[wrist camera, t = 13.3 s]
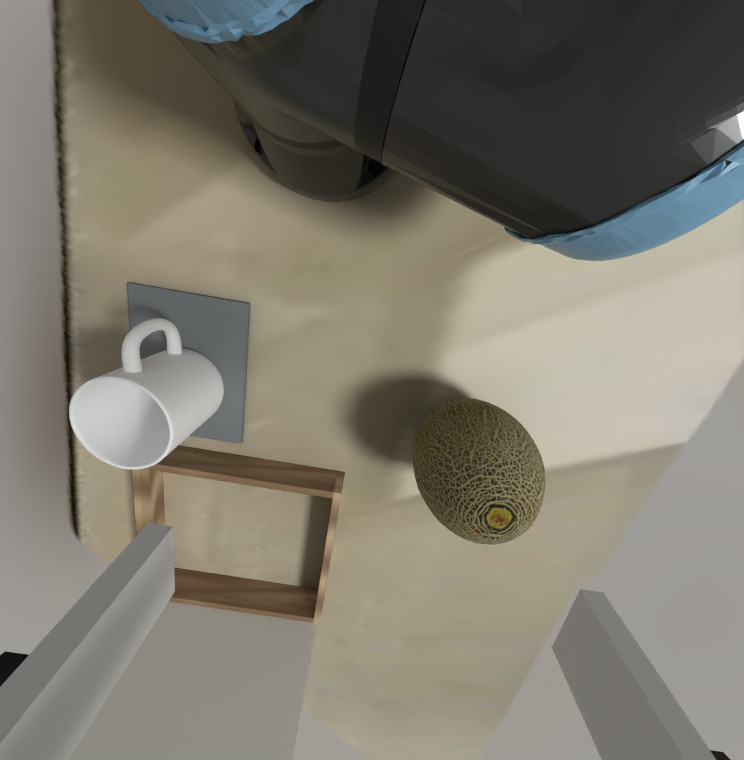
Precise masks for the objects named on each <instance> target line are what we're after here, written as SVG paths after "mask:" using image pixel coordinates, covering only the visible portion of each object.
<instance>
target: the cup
mask: <svg viewBox="0 0 744 760" xmlns="http://www.w3.org/2000/svg"><path fill="white" fill-rule="evenodd" d="M158 330H163V331H164V333H165V335H166V339H167V350H165V351H162V352H159V353H157V354H154V355H152V356H149V357H147V358H144V359H142V360H141V358H140V344H141V342H142V340H143V339H144V338H145V337H146V336H148V335H149V334H151V333H152V332H155V331H158ZM121 356H122V365H123V367H121V368H119V369H116V370H114V371H111V372H109V373H106V374H104V375H101V376H98V377H96V378H93V379H91V380H89V381H87V382H85V383H84V384H82V385H81V386H80V387H79V388H78V389H77V390H76V392H75V393H74V395H73V397H72V399H71V402H70V407H69V417H70V422H71V426H72V428H73V431H74V433H75V435H76V437H77V438H78V440H79V441H80V442H81V444H82V445H83V446H84V447H85V448H86V449H87V450H88V451H89V452H90V453H91V454H92V455H94V456H95V457H97V458H98V459H100V460H101V461H103V462H105V463H107V464H109V465H112V466H115V467H118V468H123V469H143V468H148V467H151V466H153V465H155V464H157V463H158V462H160V461H161V460H162V459H163V458H165V457H166V456H167V455H168V454H169V453H170V452H171V451H172V450H174V449H175V448H176V447H177V446H178V445H179V444H180V443H181V442H183V441H184V440H185V439H186V438H187V437H188V436H189V435H190V434H192V433H193V432H194V431H195V430H196V429H197V428H198V427H199V426H201V425H202V424H203V423H204V422H205V421H206V420H207V419H208V418H210V417H211V416H212V415H213V414H214V413H215V412H216V411H217V409H218V408H219V406H220V404H221V402H222V400H223V395H224V385H223V380H222V377H221V375H220V373H219V371H218V369H217V368H216V367H215V365H214V364H213V363H212V362H211V361H210V360H209V359H207V358H206V357H205V356H203V355H201V354H200V353H198V352H195V351H192V350H188V349H182V344H181V338H180V334H179V331H178V329H177V327H176V326H175V325H174V324H173V323H172V322H171V321H169V320H166V319H163V318H156V319H150V320H147V321H144V322H142V323H140V324H139V325H137V326H135V327H134V328H133V329H131V330H130V331H129V332H128V334H127V335H126V336H125V338H124V341H123V344H122V351H121Z"/></svg>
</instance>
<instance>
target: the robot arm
mask: <svg viewBox="0 0 744 760" xmlns="http://www.w3.org/2000/svg"><path fill="white" fill-rule="evenodd" d="M139 1H140V2H141V3H142V5H143V6H144V8H145V9H146V10H147V11H148V12H149V13H150V14H151V15H153V16H154V17H156V18H157V19H159V20H160V21H161V22H162V23H163V24H164V25H165V26H166V27H167V28H168V29H169V30H170V31H171V32H172V33H173V34H174V35H175V36H176V37H177V38H178V39H179V40H180V42H181V43H182V44H183V45H184V46H185V47H186V48H187V49H188V50H189V51H190V52H191V54H192V55H193V56H194V57H195V58H196V59H197V60H198V61H199V62H200V63H201V64H202V66H203V67H204V68H205V69H206V70H207V71H208V72H209V73H210V74H211V75H212V76H213V78H214V79H215V80H216V81H217V82H218V83H219V84H220V85H221V86H222V87H223V88H224V90H225V91H226V92H227V93H228V94H229V95H230V96H231V97H232V98H233V99H234V102H235V107H236V111H237V115H238V118H239V121H240V124H241V126H242V129H243V131H244V134H245V136H246V138H247V140H248V142H249V144H250V145H251V147H252V149H253V150H254V152H255V154H256V155H257V156H258V158H259V159H260V160H261V162H262V163H263V164H264V165H265V166H266V167H267V169H268V170H269V171H270V172H271V173H272V174H274V175H275V176H276V177H277V178H278V179H279V180H281V181H282V182H283V183H284V184H285V185H287V186H288V187H290V188H291V189H293V190H294V191H296V192H298V193H300V194H302V195H304V196H307V197H310V198H313V199H317V200H322V201H332V202H333V201H346V200H351V199H354V198H358V197H360V196H363V195H365V194H367V193H369V192H371V191H373V190H374V189H376V188H377V187H379V186H380V185H381V184H383V183H384V182H385V181H386V180H387V179H388V178H389V177H390V176H391V175H392V174H393V173H394V172H395V171H397V172H399V173H401V174H403V175H405V176H407V177H408V178H410V179H412V180H414V181H416V182H418V183H420V184H422V185H424V186H426V187H428V188H430V189H432V190H434V191H436V192H438V193H440V194H442V195H444V196H446V197H448V198H450V199H452V200H454V201H456V202H457V203H459V204H461V205H463V206H465V207H467V208H469V209H471V210H473V211H475V212H477V213H479V214H481V215H483V216H485V217H487V218H489V219H491V220H493V221H495V222H497V223H499V224H501V225H503V226H504V227H505V230H506V231H507V232H508V233H509V234H510V235H512V236H513V237H515V238H516V239H518V240H521V241H524V242H530V243H533V244H540V245H542V246H545V247H547V248H549V249H551V250H553V251H556V252H558V253H560V254H562V255H565V256H567V257H570V258H574V259H580V260H589V261H605V260H613V259H618V258H623V257H627V256H631V255H635V254H638V253H641V252H644V251H647V250H650V249H652V248H655V247H657V246H660V245H662V244H665V243H667V242H669V241H671V240H673V239H675V238H677V237H679V236H681V235H683V234H686V233H688V232H690V231H692V230H693V229H695V228H697V227H699V226H701V225H703V224H704V223H706V222H708V221H709V220H711V219H713V218H715V217H716V216H718V215H720V214H721V213H723V212H724V211H726V210H728V209H729V208H731V207H732V206H734V205H735V204H737V203H738V202H740V201H741V200H743V199H744V0H139ZM174 592H175V577H174V537H173V526H167V525H160V524H154V523H148V524H147V525H146V526H145V527H144V528H143V529H142V531H141V532H140V533H139V534H138V535H137V536H136V537H135V538H134V539H133V541H132V542H131V543H130V544H129V545H128V546H127V547H126V548H125V549H124V550H123V552H122V553H121V554H120V555H119V556H118V557H117V558H116V559H115V560H114V562H113V563H112V564H111V565H110V566H109V567H108V568H107V569H106V571H105V572H104V573H103V574H102V575H101V576H100V577H99V578H98V579H97V580H96V581H95V583H94V584H93V585H92V586H91V587H90V588H89V589H88V590H87V592H86V593H85V594H84V595H83V596H82V597H81V598H80V599H79V601H77V603H76V604H75V605H74V606H73V607H72V608H71V609H70V610H69V611H68V612H67V614H66V615H65V616H64V617H63V618H62V619H61V620H60V621H59V623H58V624H57V625H56V626H55V627H54V628H53V629H52V630H51V631H50V632H49V633H48V635H47V636H46V637H45V638H44V639H43V640H42V641H41V642H40V644H39V645H38V646H37V647H36V648H35V649H34V650H33V652H32V653H31V654H30V655H26V654H19V653H12V652H4V653H3V654H1V655H0V760H68V759H69V758H70V756H71V755H72V753H73V751H74V750H75V748H76V747H77V745H78V744H79V742H80V740H81V739H82V737H83V736H84V734H85V732H86V731H87V729H88V728H89V726H90V725H91V723H92V721H93V720H94V718H95V717H96V715H97V714H98V712H99V710H100V709H101V707H102V706H103V704H104V702H105V701H106V699H107V698H108V696H109V695H110V693H111V691H112V690H113V688H114V687H115V685H116V684H117V682H118V680H119V679H120V677H121V676H122V674H123V672H124V671H125V669H126V668H127V666H128V665H129V663H130V661H131V660H132V658H133V657H134V655H135V654H136V652H137V650H138V649H139V647H140V646H141V644H142V642H143V641H144V639H145V638H146V636H147V635H148V633H149V631H150V630H151V628H152V627H153V625H154V624H155V622H156V620H157V619H158V617H159V616H160V614H161V612H162V611H163V609H164V608H165V606H166V605H167V603H168V601H169V600H170V598H171V597H172V595H173V594H174ZM552 649H553V651H554V653H555V655H556V658H557V660H558V662H559V665H560V666H561V669H562V671H563V673H564V676H565V678H566V680H567V683H568V685H569V687H570V689H571V692H572V694H573V696H574V698H575V701H576V703H577V705H578V707H579V710H580V712H581V714H582V716H583V719H584V721H585V723H586V725H587V728H588V730H589V732H590V734H591V737H592V739H593V741H594V743H595V746H596V748H597V750H598V752H599V755H600V757H601V759H602V760H730V759H729V758H728V757H727V756H726V755H725V754H724V753H723V752H718V751H711V750H709V748H708V747H707V745H706V744H705V742H704V741H703V740H702V738H701V736H700V735H699V734H698V732H697V731H696V729H695V728H694V726H693V725H692V723H691V722H690V720H689V719H688V717H687V716H686V714H685V713H684V711H683V710H682V708H681V707H680V706H679V704H678V702H677V701H676V700H675V698H674V696H673V695H672V694H671V692H670V691H669V689H668V688H667V686H666V685H665V683H664V682H663V680H662V679H661V677H660V676H659V674H658V673H657V671H656V670H655V668H654V667H653V665H652V664H651V662H650V661H649V659H648V658H647V657H646V655H645V654H644V652H643V651H642V649H641V648H640V646H639V645H638V643H637V642H636V640H635V639H634V637H633V636H632V634H631V633H630V631H629V630H628V628H627V627H626V625H625V624H624V622H623V621H622V620H621V618H620V617H619V615H618V614H617V612H616V611H615V609H614V608H613V606H612V605H611V603H610V602H609V600H608V599H607V598H606V596H605V594H604V593H602V592H595V591H589V590H583V589H580V591H579V593H578V595H577V597H576V599H575V601H574V603H573V605H572V607H571V609H570V611H569V613H568V616H567V618H566V620H565V622H564V624H563V626H562V628H561V630H560V632H559V634H558V636H557V638H556V640H555V642H554V644H553V646H552Z"/></svg>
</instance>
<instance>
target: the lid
mask: <svg viewBox="0 0 744 760" xmlns="http://www.w3.org/2000/svg"><path fill="white" fill-rule="evenodd" d="M316 627H317V623H311V622H304V621H297V620H291V619H284V618H277V617H270V616H264V615H257V614H250V613H243V612H236V611H230V610H223V609H216V608H209V607H203V606H196V605H189V604H182V603H175V602H169V601H168V603H167V605H166V606H165V608H164V609H163V611H162V612H161V614H160V616H159V617H158V619H157V620H156V622H155V624H154V625H153V627H152V628H151V630H150V631H149V633H148V635H147V636H146V638H145V639H144V641H143V642H142V644H141V646H140V647H139V649H138V650H137V652H136V654H135V655H134V657H133V658H132V660H131V661H130V663H129V665H128V666H127V668H126V669H125V671H124V672H123V674H122V676H121V677H120V679H119V680H118V682H117V684H116V685H115V687H114V688H113V690H112V691H111V693H110V695H109V696H108V698H107V699H106V701H105V702H104V704H103V706H102V707H101V709H100V710H99V712H98V714H97V715H96V717H95V718H94V720H93V721H92V723H91V725H90V726H89V728H88V729H87V731H86V732H85V734H84V736H83V737H82V739H81V740H80V742H79V744H78V745H77V747H76V748H75V750H74V751H73V753H72V755H71V756H70V758H69V759H68V760H293V755H294V749H295V744H296V738H297V733H298V727H299V722H300V716H301V711H302V705H303V699H304V694H305V688H306V683H307V677H308V672H309V666H310V661H311V655H312V649H313V644H314V638H315V633H316Z"/></svg>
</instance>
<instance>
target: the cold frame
mask: <svg viewBox="0 0 744 760" xmlns="http://www.w3.org/2000/svg"><path fill="white" fill-rule="evenodd" d="M163 472H168V473H174V474H181V475H187V476H193V477H200V478H206V479H212V480H219V481H225V482H231V483H238V484H244V485H250V486H257V487H263V488H269V489H276V490H282V491H288V492H295V493H301V494H307V495H314V496H320V497H326V498H333V501H332V507H331V513H330V520H329V526H328V532H327V539H326V545H325V551H324V558H323V564H322V570H321V577H320V583H319V589H318V590H317V589H311V588H304V587H297V586H291V585H284V584H277V583H271V582H264V581H257V580H251V579H244V578H238V577H231V576H224V575H218V574H211V573H204V572H198V571H191V570H184V569H178V568H174V577H175V592H174V594H173V595H172V597H171V598H170V600H169V602H175V603H182V604H189V605H196V606H203V607H209V608H216V609H223V610H230V611H236V612H243V613H250V614H257V615H264V616H270V617H277V618H284V619H291V620H297V621H304V622H311V623H318V624H320V618H321V612H322V606H323V601H324V595H325V589H326V583H327V577H328V571H329V565H330V559H331V553H332V547H333V541H334V535H335V529H336V523H337V517H338V511H339V505H340V499H341V493H342V487H343V481H344V474H345V472H339V471H333V470H327V469H321V468H314V467H308V466H302V465H296V464H290V463H283V462H277V461H271V460H265V459H258V458H252V457H246V456H240V455H233V454H227V453H221V452H215V451H209V450H202V449H196V448H190V447H184V446H177V447H176V448H175V449H174V450H172V451H171V452H170V453H169V454H168V455H167V456H166V457H165V458H163V459H162V460H161V461H160V462H158V463H157V464H155V465H153V466H151V467H148V468H143V469H132V477H133V491H134V506H135V520H136V535H138V534H139V533H140V532H141V531H142V529H143V528H144V527H145V526H146V525H147V524H148V523H154V524H160V525H165V521H164V492H163Z"/></svg>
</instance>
